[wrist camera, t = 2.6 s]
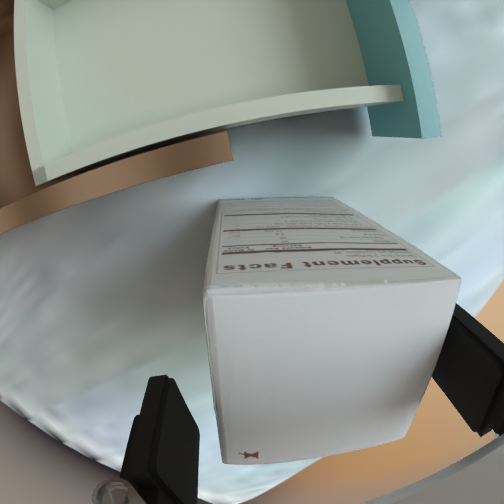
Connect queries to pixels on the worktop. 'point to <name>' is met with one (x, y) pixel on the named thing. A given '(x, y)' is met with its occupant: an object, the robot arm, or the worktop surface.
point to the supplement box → (317, 328)
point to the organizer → (88, 181)
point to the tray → (208, 71)
